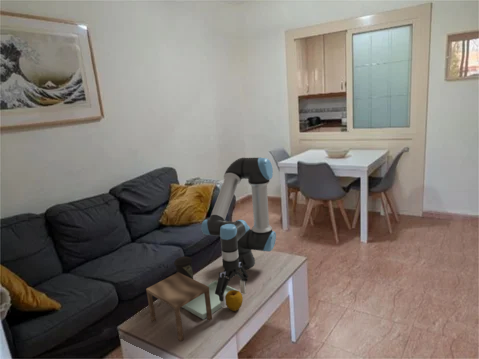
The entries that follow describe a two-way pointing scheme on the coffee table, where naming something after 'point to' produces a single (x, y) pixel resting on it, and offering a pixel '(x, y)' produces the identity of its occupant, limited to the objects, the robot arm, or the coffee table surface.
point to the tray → (198, 304)
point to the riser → (178, 296)
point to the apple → (234, 300)
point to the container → (184, 266)
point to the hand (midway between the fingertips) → (233, 299)
